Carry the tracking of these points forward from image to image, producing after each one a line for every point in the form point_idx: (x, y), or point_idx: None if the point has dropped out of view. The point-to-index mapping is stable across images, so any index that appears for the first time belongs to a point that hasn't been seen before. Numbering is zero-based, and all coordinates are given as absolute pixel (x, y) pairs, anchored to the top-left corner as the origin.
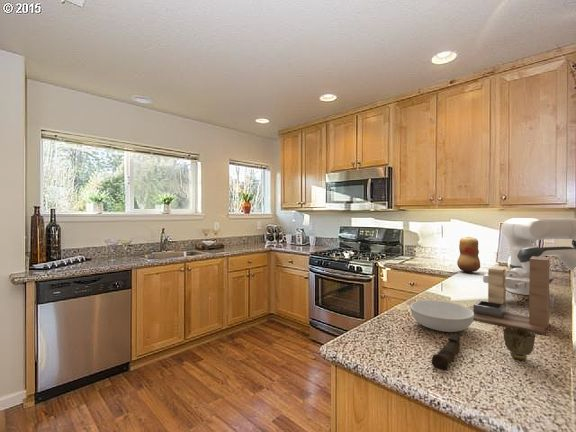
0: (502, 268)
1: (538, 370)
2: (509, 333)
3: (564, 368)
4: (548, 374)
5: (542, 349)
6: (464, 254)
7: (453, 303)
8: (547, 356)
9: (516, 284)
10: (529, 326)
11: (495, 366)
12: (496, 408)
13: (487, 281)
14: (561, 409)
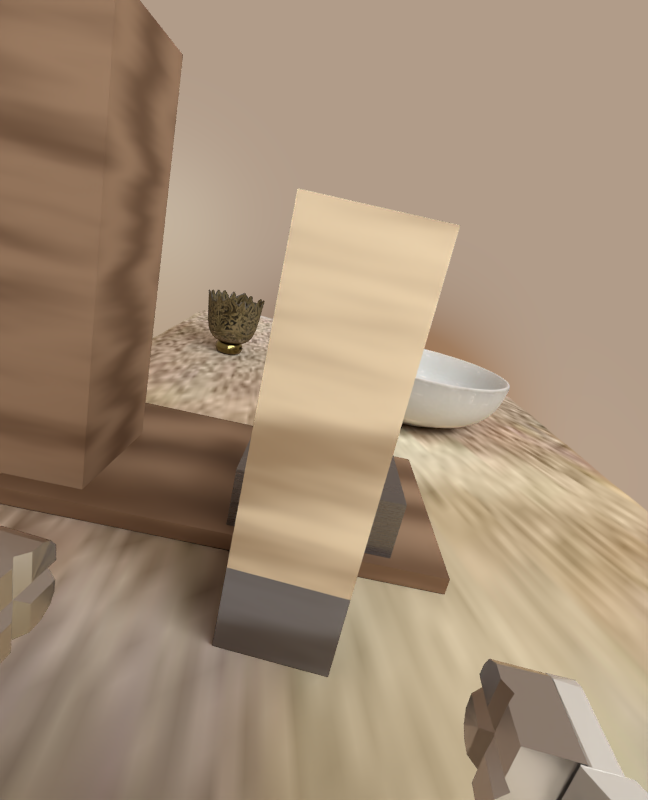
0: (334, 197)
1: (203, 338)
2: (249, 317)
3: (155, 339)
4: (191, 334)
5: (167, 365)
6: None
7: (422, 379)
8: (169, 354)
9: (35, 541)
10: (151, 419)
11: (265, 344)
12: (262, 320)
13: None
14: (201, 315)
